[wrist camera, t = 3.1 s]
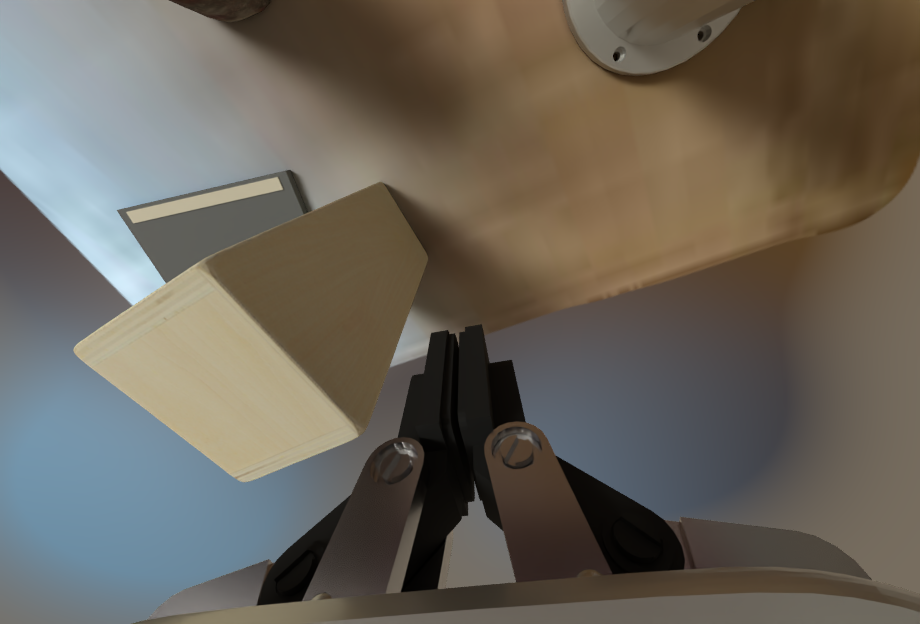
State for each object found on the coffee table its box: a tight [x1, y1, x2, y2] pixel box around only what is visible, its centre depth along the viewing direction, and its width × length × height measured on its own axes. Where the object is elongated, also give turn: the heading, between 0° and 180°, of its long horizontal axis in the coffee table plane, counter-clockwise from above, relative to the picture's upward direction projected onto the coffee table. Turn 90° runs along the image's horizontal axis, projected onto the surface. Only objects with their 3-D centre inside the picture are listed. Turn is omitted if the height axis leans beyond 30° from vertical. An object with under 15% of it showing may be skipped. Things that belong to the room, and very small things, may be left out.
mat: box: [117, 170, 308, 283], centre depth 31 cm, size 16×14×1 cm
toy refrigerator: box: [74, 182, 428, 482], centre depth 21 cm, size 8×7×21 cm
